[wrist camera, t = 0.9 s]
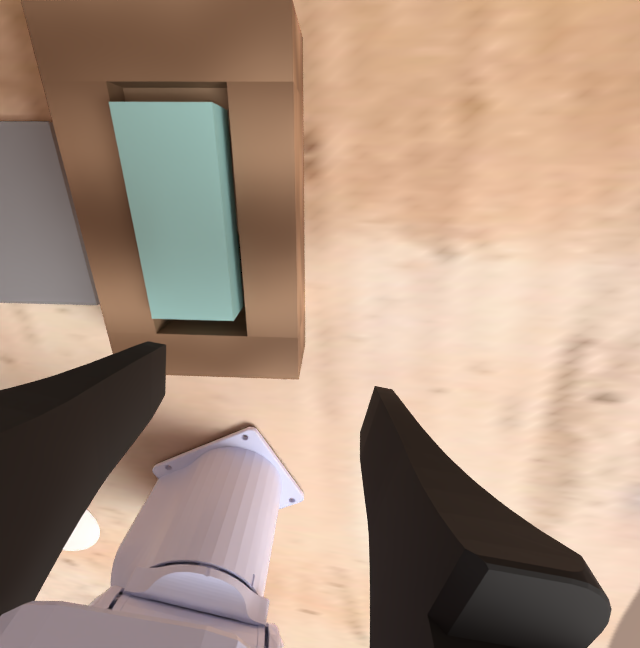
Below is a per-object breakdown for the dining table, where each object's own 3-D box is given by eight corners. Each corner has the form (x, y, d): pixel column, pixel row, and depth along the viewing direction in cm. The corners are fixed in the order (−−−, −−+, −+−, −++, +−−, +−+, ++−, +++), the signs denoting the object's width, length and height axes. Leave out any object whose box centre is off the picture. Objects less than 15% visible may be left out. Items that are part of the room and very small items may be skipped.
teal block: (243, 305, 19) (233, 320, 17) (169, 304, 19) (152, 318, 17) (227, 110, 15) (212, 102, 13) (136, 109, 15) (108, 101, 13)
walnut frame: (305, 343, 23) (298, 379, 19) (154, 339, 23) (117, 373, 19) (302, 37, 16) (291, -2, 13) (93, 38, 17) (20, 0, 13)
